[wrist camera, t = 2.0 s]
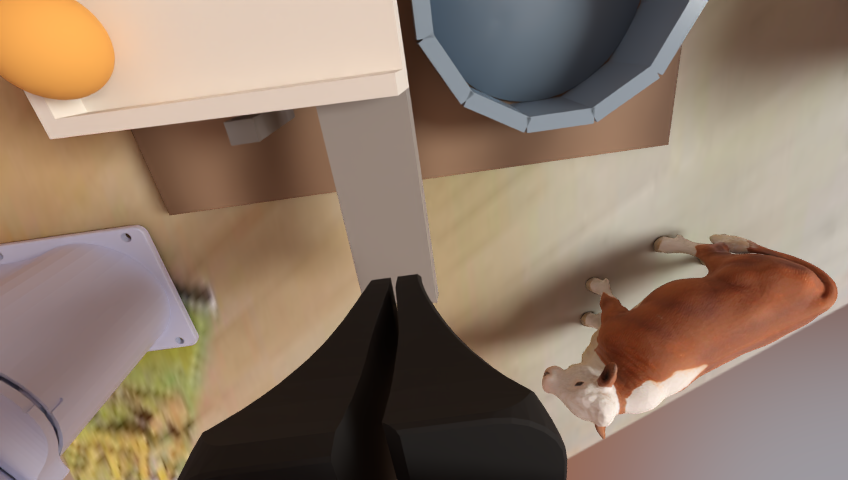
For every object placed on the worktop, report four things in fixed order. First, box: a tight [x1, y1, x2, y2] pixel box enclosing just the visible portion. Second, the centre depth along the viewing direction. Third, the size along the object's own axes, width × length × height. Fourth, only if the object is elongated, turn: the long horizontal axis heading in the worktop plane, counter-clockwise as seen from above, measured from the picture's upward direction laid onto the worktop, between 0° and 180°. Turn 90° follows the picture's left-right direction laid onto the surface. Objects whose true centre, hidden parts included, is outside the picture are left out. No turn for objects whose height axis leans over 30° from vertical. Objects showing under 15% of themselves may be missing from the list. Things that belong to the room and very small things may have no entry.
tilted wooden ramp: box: [23, 0, 438, 304], centre depth 14 cm, size 12×13×3 cm
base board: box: [131, 0, 682, 215], centre depth 15 cm, size 25×15×6 cm, turn 98°
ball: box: [0, 0, 115, 100], centre depth 12 cm, size 3×3×3 cm
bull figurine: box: [542, 234, 838, 439], centre depth 21 cm, size 4×13×8 cm, turn 120°
